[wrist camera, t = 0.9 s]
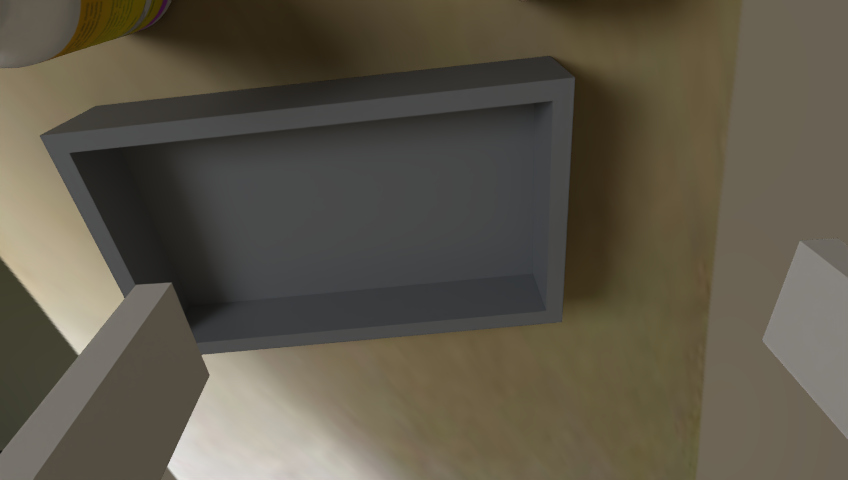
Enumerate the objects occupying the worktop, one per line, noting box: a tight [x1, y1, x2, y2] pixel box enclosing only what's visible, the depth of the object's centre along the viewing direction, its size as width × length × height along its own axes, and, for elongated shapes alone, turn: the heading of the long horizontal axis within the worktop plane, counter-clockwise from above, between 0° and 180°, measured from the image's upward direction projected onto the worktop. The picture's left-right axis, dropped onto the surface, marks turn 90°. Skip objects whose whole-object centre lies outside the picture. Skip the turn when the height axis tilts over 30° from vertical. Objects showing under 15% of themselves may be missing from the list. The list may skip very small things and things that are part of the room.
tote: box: [40, 56, 575, 355], centre depth 30 cm, size 15×26×5 cm, turn 96°
